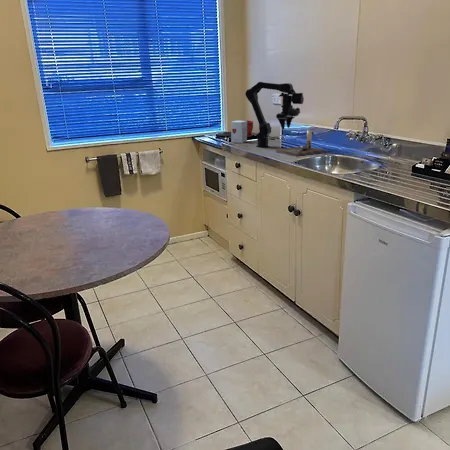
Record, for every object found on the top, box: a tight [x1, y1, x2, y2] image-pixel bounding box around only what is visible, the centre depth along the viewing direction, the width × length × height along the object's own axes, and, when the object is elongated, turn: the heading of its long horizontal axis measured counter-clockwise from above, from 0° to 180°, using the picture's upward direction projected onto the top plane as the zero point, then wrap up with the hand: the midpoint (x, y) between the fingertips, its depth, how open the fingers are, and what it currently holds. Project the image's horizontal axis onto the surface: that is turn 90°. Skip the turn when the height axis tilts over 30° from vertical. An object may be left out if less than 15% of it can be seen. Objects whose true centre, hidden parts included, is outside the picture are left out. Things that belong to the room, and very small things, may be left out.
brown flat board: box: [276, 146, 325, 157], centre depth 267 cm, size 24×18×2 cm
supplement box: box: [230, 120, 248, 144], centre depth 309 cm, size 9×9×15 cm
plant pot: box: [244, 119, 254, 138], centre depth 336 cm, size 13×13×12 cm
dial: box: [297, 129, 313, 152], centre depth 264 cm, size 19×4×11 cm, turn 148°
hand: (285, 128), depth 278 cm, fingers open, 8 cm apart
